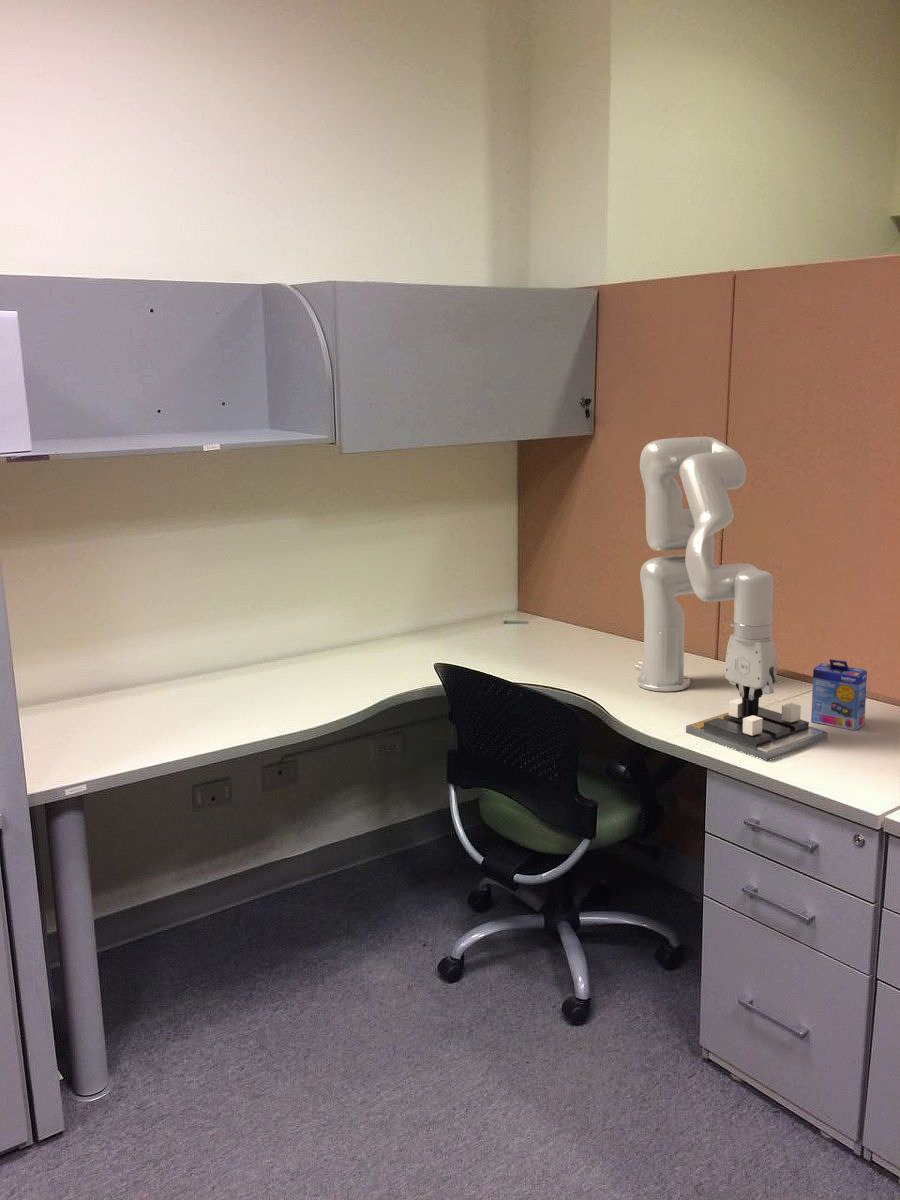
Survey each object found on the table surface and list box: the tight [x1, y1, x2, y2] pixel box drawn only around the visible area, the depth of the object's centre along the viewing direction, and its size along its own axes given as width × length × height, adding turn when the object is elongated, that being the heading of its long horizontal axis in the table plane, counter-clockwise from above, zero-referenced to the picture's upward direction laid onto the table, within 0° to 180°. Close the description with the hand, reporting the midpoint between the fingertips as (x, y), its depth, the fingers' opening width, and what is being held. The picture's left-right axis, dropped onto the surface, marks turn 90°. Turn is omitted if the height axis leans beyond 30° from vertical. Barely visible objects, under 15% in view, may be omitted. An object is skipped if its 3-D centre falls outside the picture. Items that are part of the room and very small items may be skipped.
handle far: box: [781, 702, 802, 722], centre depth 209 cm, size 2×3×3 cm
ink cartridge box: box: [810, 658, 868, 731], centre depth 214 cm, size 10×6×14 cm, turn 51°
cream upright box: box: [743, 715, 763, 736], centre depth 203 cm, size 2×3×3 cm
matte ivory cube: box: [728, 698, 742, 718], centre depth 213 cm, size 2×3×3 cm
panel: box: [685, 706, 829, 762], centre depth 210 cm, size 21×19×3 cm
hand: (750, 715), depth 211 cm, fingers closed
